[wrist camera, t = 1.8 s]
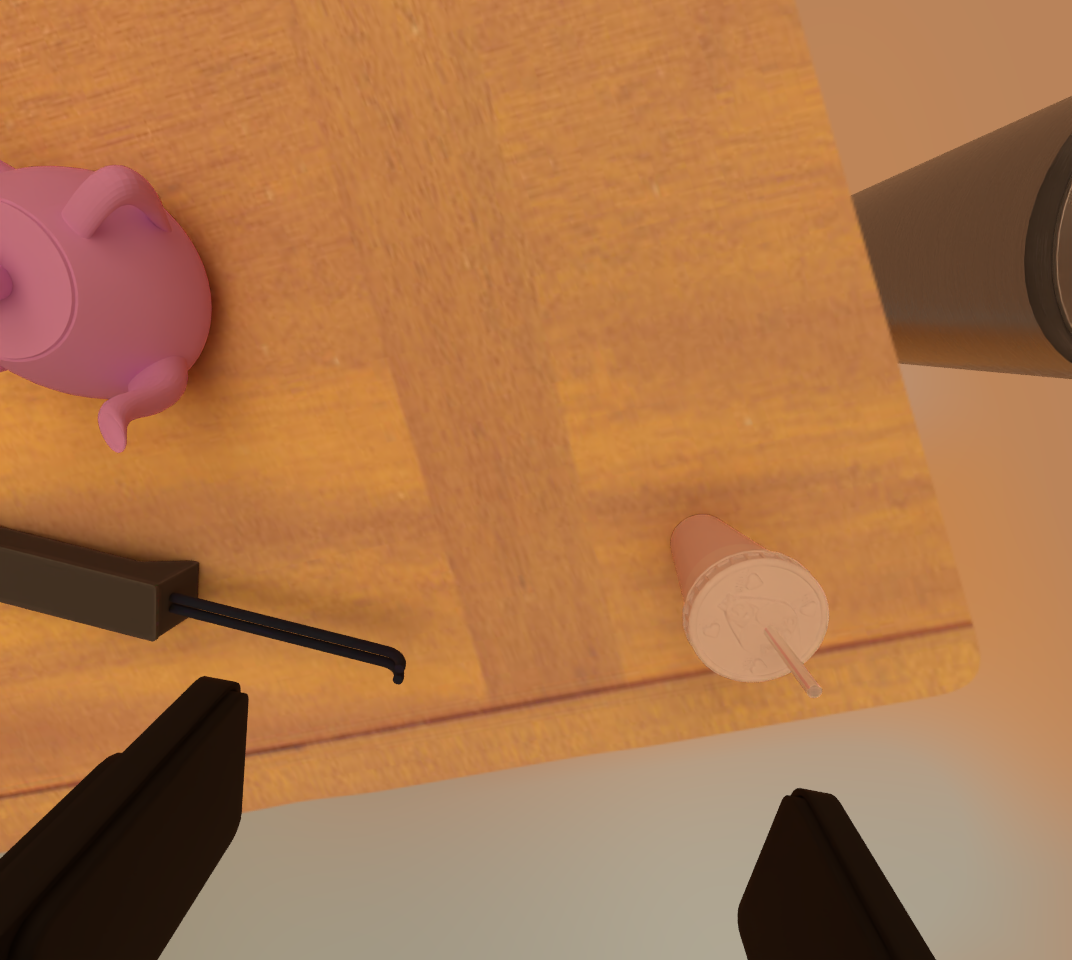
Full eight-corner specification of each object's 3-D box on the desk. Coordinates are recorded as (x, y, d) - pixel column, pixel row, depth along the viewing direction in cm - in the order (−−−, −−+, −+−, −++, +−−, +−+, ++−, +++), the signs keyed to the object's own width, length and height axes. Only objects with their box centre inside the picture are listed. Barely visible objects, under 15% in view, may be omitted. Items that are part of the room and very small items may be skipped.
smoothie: (709, 606, 35) (812, 781, 21) (628, 555, 34) (681, 704, 20) (773, 528, 33) (928, 663, 20) (690, 473, 32) (792, 575, 19)
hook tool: (-2, 561, 37) (419, 668, 34) (-67, 584, 33) (399, 705, 31) (-7, 510, 36) (427, 617, 33) (-73, 528, 32) (407, 649, 30)
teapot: (233, 422, 32) (119, 455, 24) (-1, 366, 32) (-204, 379, 23) (252, 209, 29) (128, 159, 20) (-8, 143, 28) (-247, 63, 20)
